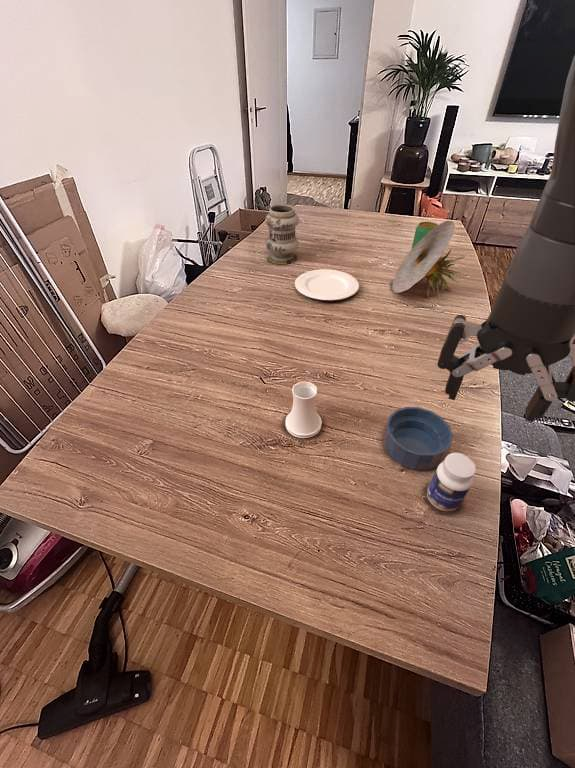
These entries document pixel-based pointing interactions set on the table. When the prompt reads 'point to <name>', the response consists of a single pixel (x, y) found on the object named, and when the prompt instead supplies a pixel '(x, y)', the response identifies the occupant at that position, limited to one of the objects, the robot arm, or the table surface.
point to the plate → (326, 285)
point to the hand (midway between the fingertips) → (489, 405)
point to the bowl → (417, 438)
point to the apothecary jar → (282, 233)
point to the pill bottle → (451, 482)
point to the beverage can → (422, 231)
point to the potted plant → (427, 260)
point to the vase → (303, 411)
